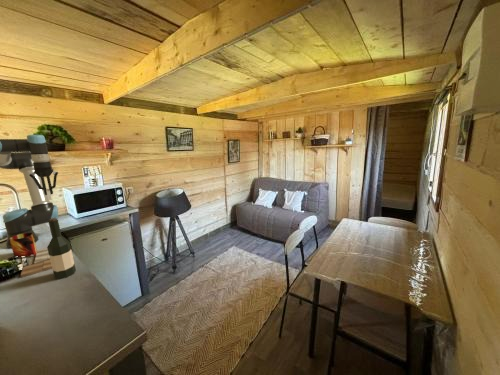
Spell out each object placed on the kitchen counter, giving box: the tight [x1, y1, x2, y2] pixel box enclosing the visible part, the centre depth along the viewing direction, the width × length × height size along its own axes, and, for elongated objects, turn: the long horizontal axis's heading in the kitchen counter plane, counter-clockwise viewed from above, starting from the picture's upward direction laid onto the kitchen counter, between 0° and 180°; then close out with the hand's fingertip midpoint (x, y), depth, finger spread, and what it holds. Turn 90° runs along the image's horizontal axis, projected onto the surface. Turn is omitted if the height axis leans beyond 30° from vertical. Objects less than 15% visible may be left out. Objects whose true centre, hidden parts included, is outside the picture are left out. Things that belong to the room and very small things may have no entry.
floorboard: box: [20, 260, 53, 278], centre depth 115 cm, size 11×16×2 cm
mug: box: [9, 233, 38, 258], centre depth 129 cm, size 10×14×12 cm
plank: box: [33, 248, 50, 264], centre depth 126 cm, size 18×8×2 cm, turn 41°
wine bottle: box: [46, 218, 77, 280], centre depth 105 cm, size 8×8×30 cm
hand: (50, 199), depth 130 cm, fingers closed
